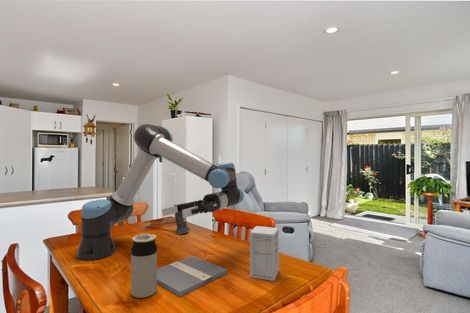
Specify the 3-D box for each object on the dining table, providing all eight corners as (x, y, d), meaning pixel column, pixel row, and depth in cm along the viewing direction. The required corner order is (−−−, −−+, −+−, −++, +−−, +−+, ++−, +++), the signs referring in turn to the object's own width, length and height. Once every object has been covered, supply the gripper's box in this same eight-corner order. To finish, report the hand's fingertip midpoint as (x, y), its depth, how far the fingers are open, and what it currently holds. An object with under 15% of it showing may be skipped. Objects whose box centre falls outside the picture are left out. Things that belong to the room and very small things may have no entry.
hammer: (148, 209, 165) (185, 203, 152) (152, 235, 164) (190, 231, 150) (140, 211, 160) (179, 205, 147) (144, 237, 158) (183, 233, 145)
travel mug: (131, 301, 80) (131, 242, 80) (130, 288, 88) (130, 235, 87) (158, 295, 83) (158, 239, 83) (155, 284, 91) (155, 232, 91)
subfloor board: (146, 277, 96) (146, 272, 96) (192, 259, 113) (192, 255, 113) (179, 296, 83) (179, 291, 83) (227, 273, 99) (227, 269, 99)
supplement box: (279, 270, 102) (279, 227, 102) (275, 281, 93) (275, 234, 93) (255, 267, 105) (255, 225, 105) (249, 277, 96) (249, 231, 96)
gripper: (237, 211, 104) (194, 225, 88) (197, 209, 121) (156, 221, 105) (234, 192, 104) (191, 203, 88) (195, 193, 121) (154, 202, 105)
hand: (172, 213), depth 97 cm, fingers open, 13 cm apart
